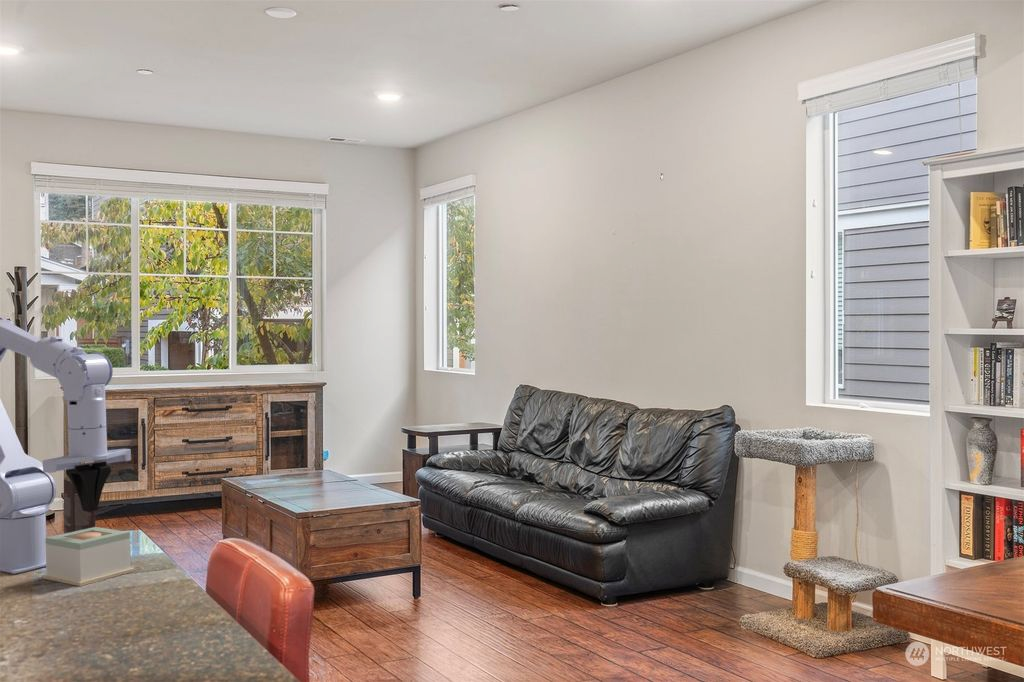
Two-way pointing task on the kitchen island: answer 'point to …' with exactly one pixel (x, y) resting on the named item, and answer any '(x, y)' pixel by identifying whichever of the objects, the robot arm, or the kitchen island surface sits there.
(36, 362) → the robot arm
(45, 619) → the kitchen island surface
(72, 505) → the box
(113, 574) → the socket
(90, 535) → the peg
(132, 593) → the kitchen island surface
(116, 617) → the kitchen island surface
